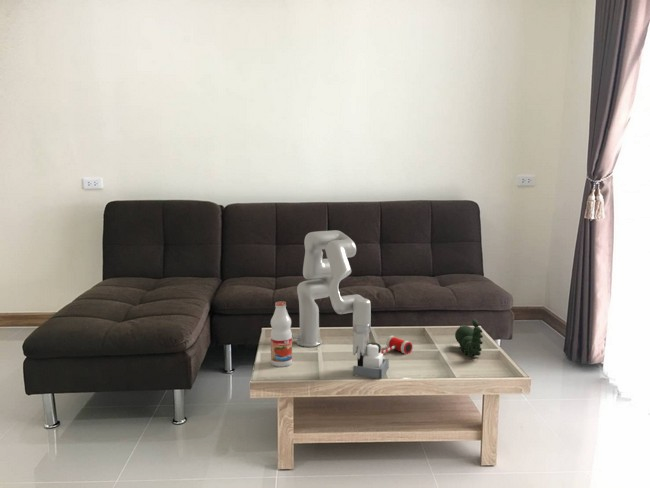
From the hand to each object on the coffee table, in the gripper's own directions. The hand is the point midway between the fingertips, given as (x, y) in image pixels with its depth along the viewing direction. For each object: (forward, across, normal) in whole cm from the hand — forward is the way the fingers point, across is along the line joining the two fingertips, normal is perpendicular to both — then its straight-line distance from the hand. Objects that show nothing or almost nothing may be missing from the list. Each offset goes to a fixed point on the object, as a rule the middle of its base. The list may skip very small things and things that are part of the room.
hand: (361, 368), depth 252 cm
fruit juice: (+1, +2, -36) cm, 36 cm away
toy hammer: (+2, -26, +7) cm, 27 cm away
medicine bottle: (+1, -1, +5) cm, 5 cm away
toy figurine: (+1, -39, +42) cm, 57 cm away
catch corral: (+1, 0, +4) cm, 4 cm away
